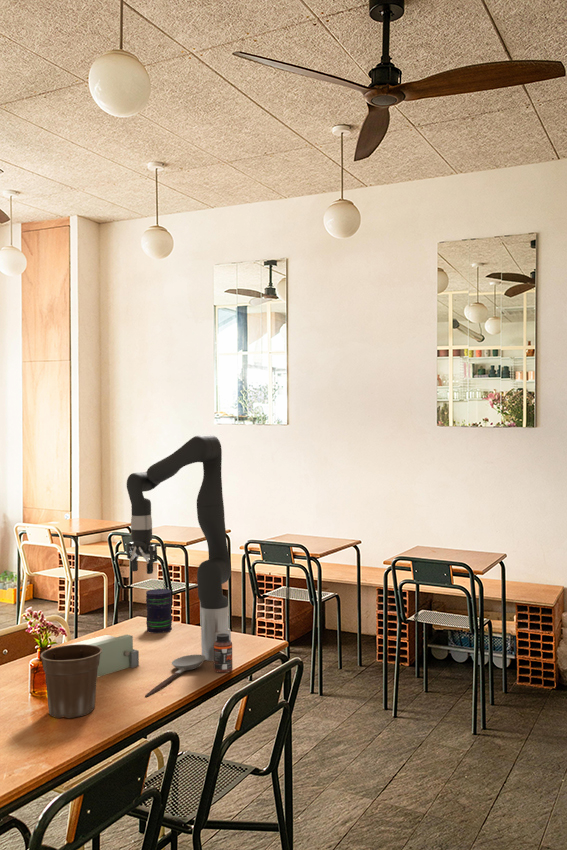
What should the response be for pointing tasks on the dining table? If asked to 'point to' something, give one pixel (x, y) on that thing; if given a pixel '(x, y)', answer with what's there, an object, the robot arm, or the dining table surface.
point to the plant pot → (71, 679)
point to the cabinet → (133, 655)
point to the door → (114, 654)
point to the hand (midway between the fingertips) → (142, 572)
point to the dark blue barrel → (158, 610)
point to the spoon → (180, 669)
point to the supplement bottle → (223, 653)
